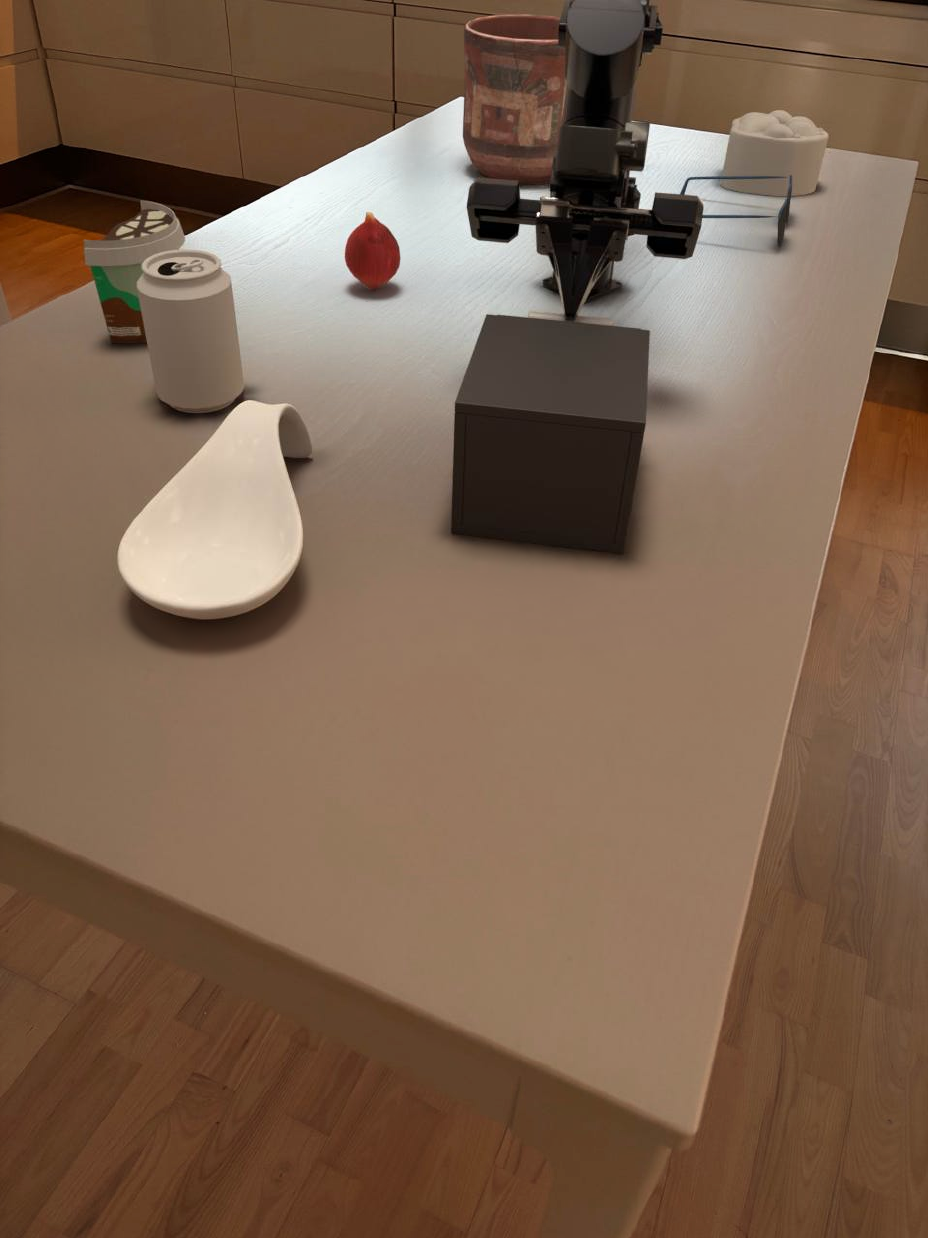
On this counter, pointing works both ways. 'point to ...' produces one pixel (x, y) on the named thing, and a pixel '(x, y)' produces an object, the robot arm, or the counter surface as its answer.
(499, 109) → the pottery
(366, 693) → the counter surface
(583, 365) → the dark grey storage box
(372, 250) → the onion
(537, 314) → the drawer
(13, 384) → the counter surface
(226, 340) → the can
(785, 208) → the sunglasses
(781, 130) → the lumpy-topped squat cylinder
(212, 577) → the spoon rest
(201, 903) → the counter surface
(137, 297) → the food container
